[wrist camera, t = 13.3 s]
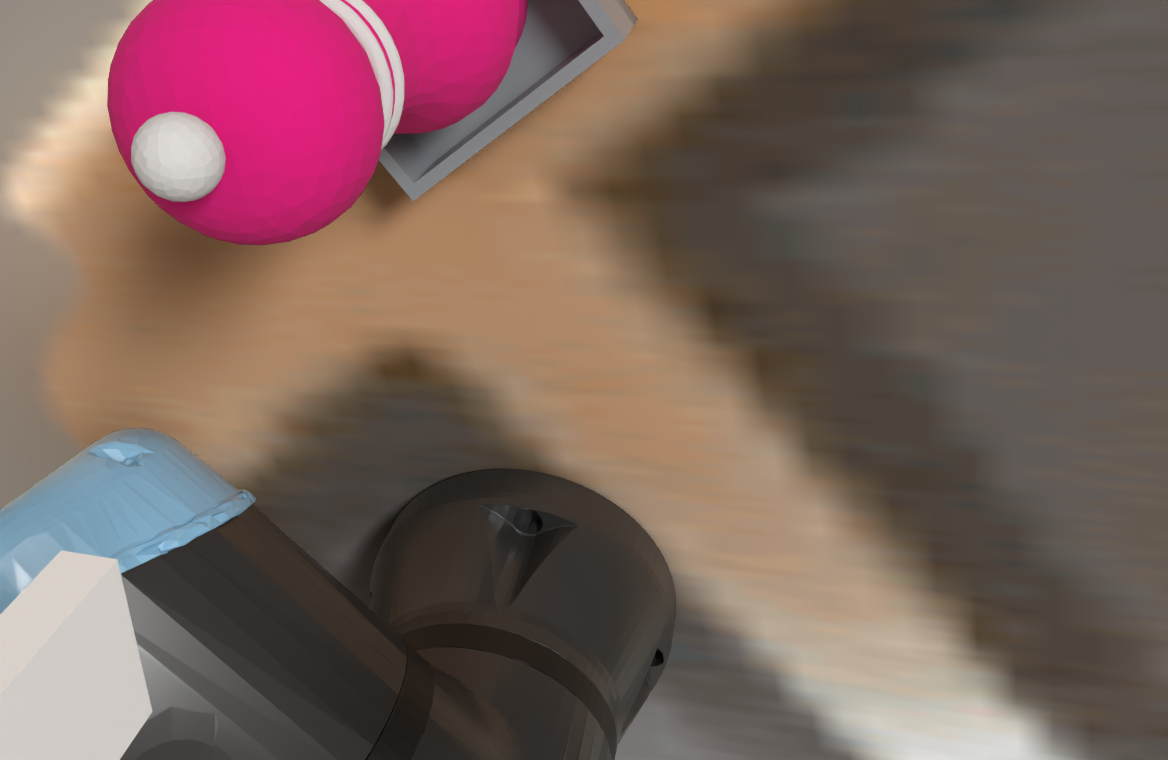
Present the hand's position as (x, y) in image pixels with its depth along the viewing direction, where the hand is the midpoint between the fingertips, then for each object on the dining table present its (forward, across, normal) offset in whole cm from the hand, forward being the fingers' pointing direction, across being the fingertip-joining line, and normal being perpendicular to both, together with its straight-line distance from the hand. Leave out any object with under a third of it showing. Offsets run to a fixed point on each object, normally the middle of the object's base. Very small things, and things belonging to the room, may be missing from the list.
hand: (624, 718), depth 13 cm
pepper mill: (+29, +11, -3) cm, 31 cm away
